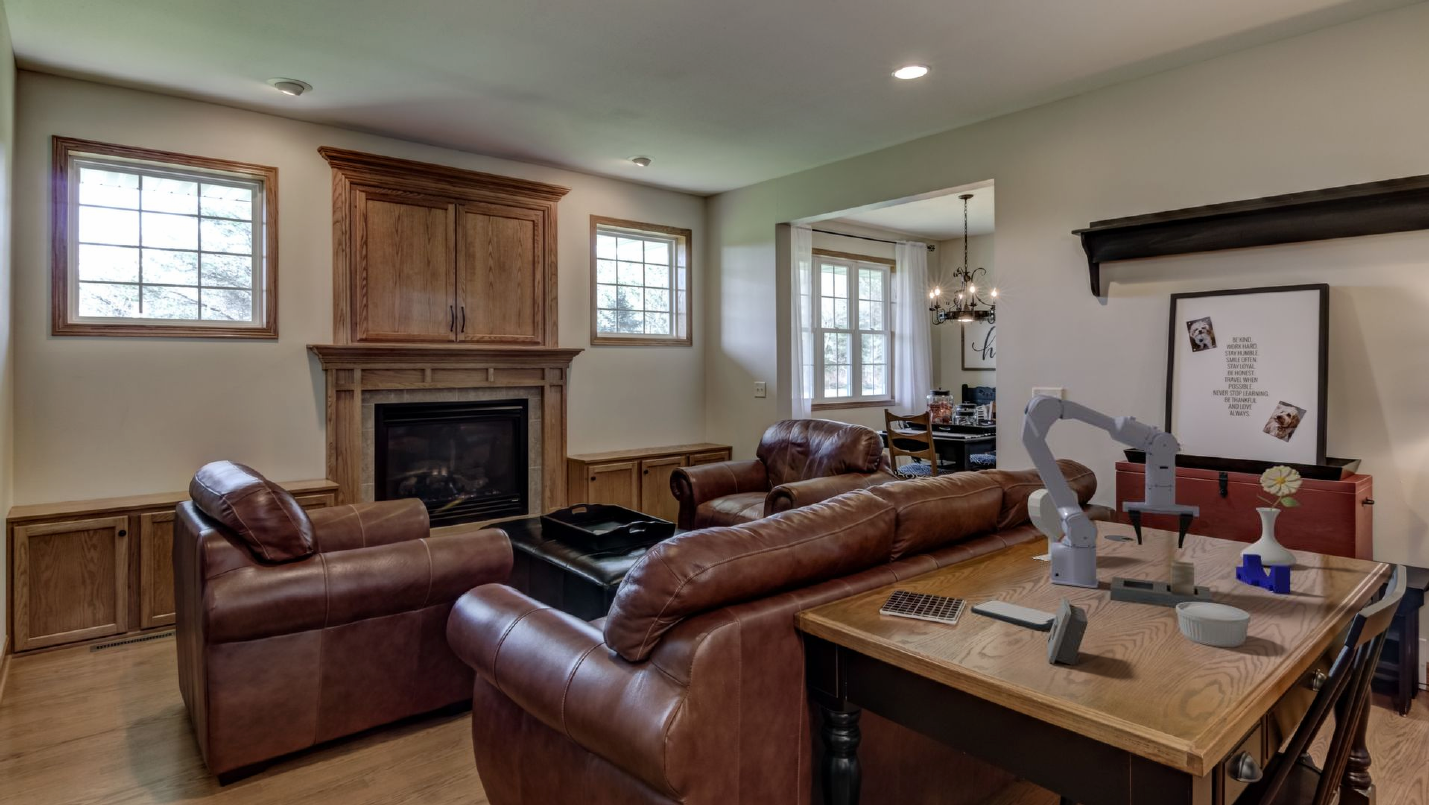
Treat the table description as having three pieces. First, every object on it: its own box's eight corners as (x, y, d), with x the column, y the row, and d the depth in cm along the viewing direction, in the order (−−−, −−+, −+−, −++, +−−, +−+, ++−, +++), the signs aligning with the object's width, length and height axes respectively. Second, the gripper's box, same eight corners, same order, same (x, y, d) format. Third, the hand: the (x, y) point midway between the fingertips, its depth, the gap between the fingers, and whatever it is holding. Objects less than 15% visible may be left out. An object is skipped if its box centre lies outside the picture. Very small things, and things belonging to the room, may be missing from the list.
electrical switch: (1046, 645, 132) (1051, 594, 131) (1078, 652, 130) (1084, 600, 129) (1048, 665, 123) (1054, 610, 122) (1082, 672, 121) (1089, 616, 120)
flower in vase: (1229, 561, 189) (1230, 463, 188) (1256, 556, 193) (1257, 461, 193) (1287, 573, 177) (1288, 468, 176) (1314, 568, 182) (1316, 466, 181)
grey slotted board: (1110, 599, 158) (1110, 587, 158) (1112, 587, 167) (1112, 576, 167) (1212, 611, 149) (1212, 599, 149) (1209, 599, 158) (1209, 587, 157)
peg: (1171, 603, 155) (1171, 565, 155) (1170, 598, 158) (1170, 561, 158) (1193, 606, 153) (1194, 567, 153) (1192, 601, 156) (1193, 563, 156)
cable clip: (1235, 579, 173) (1236, 553, 173) (1256, 579, 173) (1257, 554, 172) (1267, 594, 161) (1267, 566, 161) (1290, 594, 161) (1290, 567, 160)
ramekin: (1180, 624, 142) (1180, 597, 142) (1252, 637, 135) (1252, 608, 135) (1171, 641, 133) (1171, 612, 133) (1247, 655, 126) (1247, 624, 126)
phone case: (968, 614, 151) (1042, 634, 138) (967, 607, 151) (1042, 625, 138) (993, 606, 156) (1067, 624, 143) (993, 599, 156) (1067, 616, 143)
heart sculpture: (1063, 551, 202) (1063, 485, 201) (1080, 555, 197) (1080, 487, 197) (1025, 559, 194) (1025, 490, 194) (1042, 563, 190) (1042, 492, 189)
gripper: (1122, 485, 166) (1122, 546, 166) (1199, 489, 159) (1199, 552, 159) (1123, 481, 172) (1123, 540, 172) (1198, 485, 165) (1197, 546, 165)
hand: (1159, 545), depth 166 cm, fingers open, 7 cm apart
